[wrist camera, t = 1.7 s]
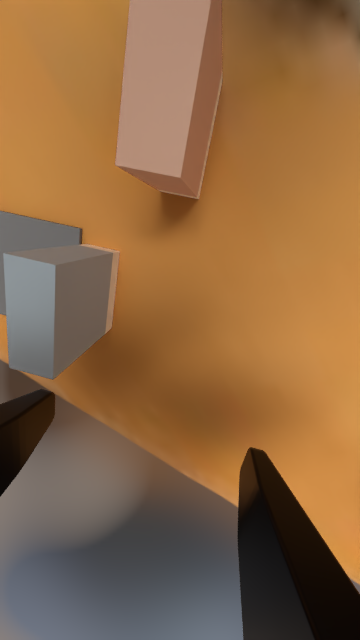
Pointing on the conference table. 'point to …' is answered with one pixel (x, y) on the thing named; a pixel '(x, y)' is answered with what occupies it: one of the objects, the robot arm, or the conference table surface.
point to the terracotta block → (170, 92)
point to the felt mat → (31, 239)
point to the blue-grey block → (57, 304)
